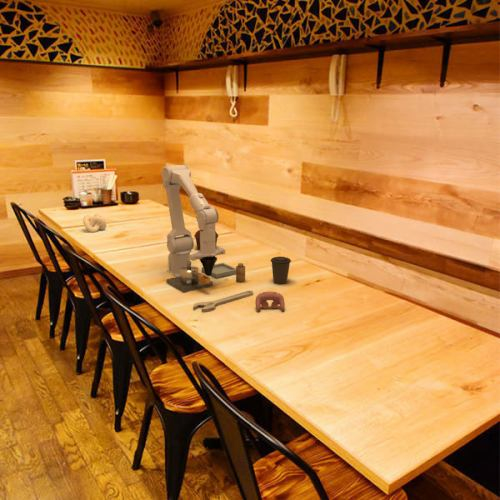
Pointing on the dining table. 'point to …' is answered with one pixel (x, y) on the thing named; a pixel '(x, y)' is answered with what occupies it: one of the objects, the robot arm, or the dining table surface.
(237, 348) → the dining table surface
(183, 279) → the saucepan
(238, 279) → the orange bottle
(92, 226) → the pretzel
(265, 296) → the video game controller
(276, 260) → the coffee cup
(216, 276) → the tray
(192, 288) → the chuck base
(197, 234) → the muffin
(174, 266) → the robot arm
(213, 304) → the adjustable wrench
